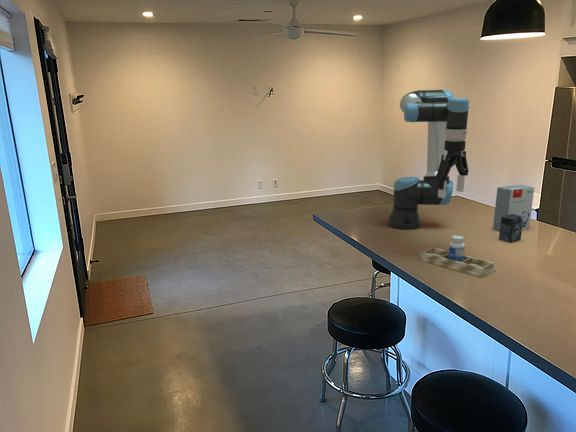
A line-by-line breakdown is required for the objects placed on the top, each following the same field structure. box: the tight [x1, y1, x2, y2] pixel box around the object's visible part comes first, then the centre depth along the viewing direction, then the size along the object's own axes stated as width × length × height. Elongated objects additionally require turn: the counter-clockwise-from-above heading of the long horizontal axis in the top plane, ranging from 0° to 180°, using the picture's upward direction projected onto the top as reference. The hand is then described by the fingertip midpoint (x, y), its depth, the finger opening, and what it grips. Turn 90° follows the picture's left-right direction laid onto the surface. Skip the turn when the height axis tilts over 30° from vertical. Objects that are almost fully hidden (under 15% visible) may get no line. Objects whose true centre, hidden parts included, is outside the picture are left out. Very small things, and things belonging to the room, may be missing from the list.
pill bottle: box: [448, 235, 466, 262], centre depth 173 cm, size 6×5×10 cm
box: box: [498, 214, 523, 243], centre depth 202 cm, size 8×6×11 cm
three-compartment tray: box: [418, 246, 496, 278], centre depth 174 cm, size 25×10×3 cm, turn 41°
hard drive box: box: [492, 184, 535, 232], centre depth 216 cm, size 16×8×20 cm, turn 114°
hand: (450, 194), depth 184 cm, fingers open, 13 cm apart
